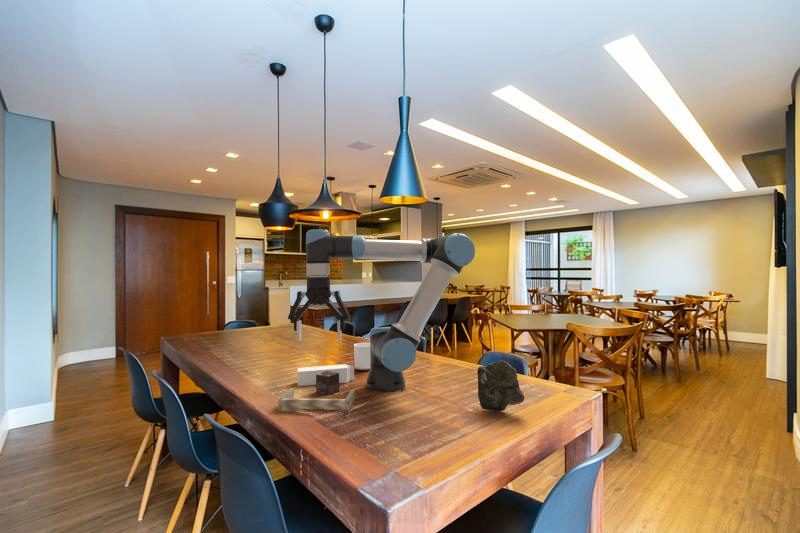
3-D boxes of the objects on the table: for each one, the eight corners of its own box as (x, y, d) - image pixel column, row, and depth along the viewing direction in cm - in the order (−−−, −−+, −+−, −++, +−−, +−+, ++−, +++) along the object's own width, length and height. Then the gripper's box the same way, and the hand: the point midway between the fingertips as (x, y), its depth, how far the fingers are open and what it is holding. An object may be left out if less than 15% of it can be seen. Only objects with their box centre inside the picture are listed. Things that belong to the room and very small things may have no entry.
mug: (351, 369, 171) (351, 346, 170) (357, 364, 179) (356, 342, 179) (375, 370, 169) (375, 347, 169) (380, 365, 178) (380, 343, 177)
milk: (297, 367, 152) (352, 363, 158) (297, 383, 152) (353, 377, 158) (297, 371, 146) (355, 366, 152) (297, 387, 146) (355, 382, 152)
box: (339, 392, 140) (339, 372, 140) (328, 397, 135) (328, 376, 135) (327, 389, 143) (327, 370, 143) (315, 394, 138) (315, 374, 138)
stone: (474, 411, 121) (473, 364, 121) (481, 401, 130) (481, 356, 130) (522, 419, 115) (522, 368, 115) (526, 407, 124) (526, 360, 124)
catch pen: (355, 400, 131) (355, 388, 131) (348, 413, 120) (348, 400, 120) (290, 399, 133) (290, 388, 133) (278, 412, 121) (278, 399, 121)
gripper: (357, 275, 130) (358, 338, 130) (285, 276, 132) (286, 338, 132) (353, 276, 123) (354, 342, 123) (277, 277, 124) (278, 342, 124)
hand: (319, 340), depth 127 cm, fingers open, 13 cm apart
